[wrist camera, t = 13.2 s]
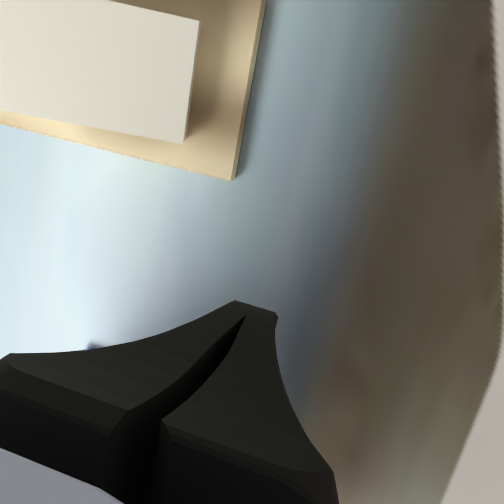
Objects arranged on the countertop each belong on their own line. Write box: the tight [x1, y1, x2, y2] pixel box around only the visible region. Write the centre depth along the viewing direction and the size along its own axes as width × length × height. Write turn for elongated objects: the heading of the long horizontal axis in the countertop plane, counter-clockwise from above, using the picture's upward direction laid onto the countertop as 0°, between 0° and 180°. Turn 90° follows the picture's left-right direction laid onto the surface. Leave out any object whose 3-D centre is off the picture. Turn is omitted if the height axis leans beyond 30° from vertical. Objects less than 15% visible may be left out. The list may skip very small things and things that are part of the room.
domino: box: [0, 0, 201, 144], centre depth 19 cm, size 5×2×8 cm
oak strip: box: [0, 0, 266, 181], centre depth 22 cm, size 8×24×1 cm, turn 79°
